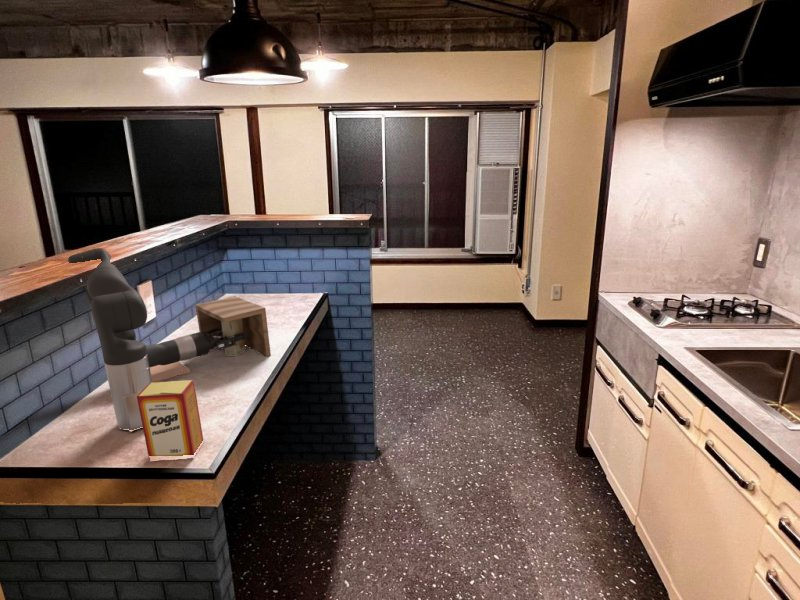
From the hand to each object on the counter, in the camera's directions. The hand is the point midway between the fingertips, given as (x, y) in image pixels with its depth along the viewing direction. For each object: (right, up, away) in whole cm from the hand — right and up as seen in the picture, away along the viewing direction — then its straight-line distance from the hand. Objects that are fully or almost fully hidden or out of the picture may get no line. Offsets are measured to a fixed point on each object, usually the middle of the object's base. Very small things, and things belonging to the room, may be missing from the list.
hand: (239, 333), depth 167 cm
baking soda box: (+4, -23, -56) cm, 61 cm away
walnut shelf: (-1, -7, 0) cm, 7 cm away
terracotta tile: (-20, -11, -13) cm, 26 cm away
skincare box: (-1, -7, 0) cm, 7 cm away
